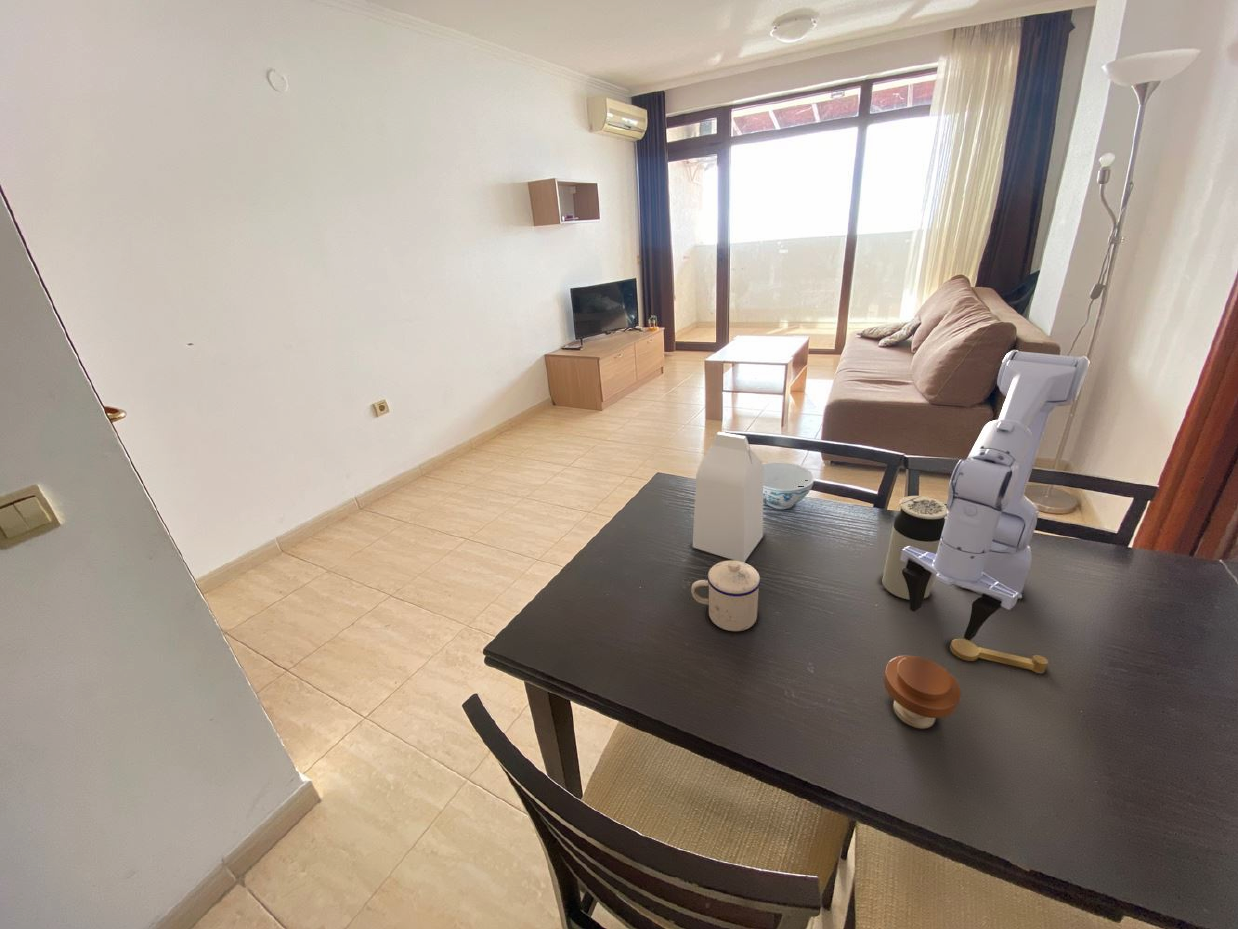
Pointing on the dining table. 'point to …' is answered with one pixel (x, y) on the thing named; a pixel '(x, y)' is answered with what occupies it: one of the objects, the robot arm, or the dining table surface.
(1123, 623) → the dining table surface
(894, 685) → the mushroom
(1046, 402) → the robot arm
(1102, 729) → the dining table surface
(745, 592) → the teacup with lid
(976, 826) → the dining table surface
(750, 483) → the milk
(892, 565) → the travel mug
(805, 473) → the chinaware
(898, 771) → the dining table surface
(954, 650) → the spoon
